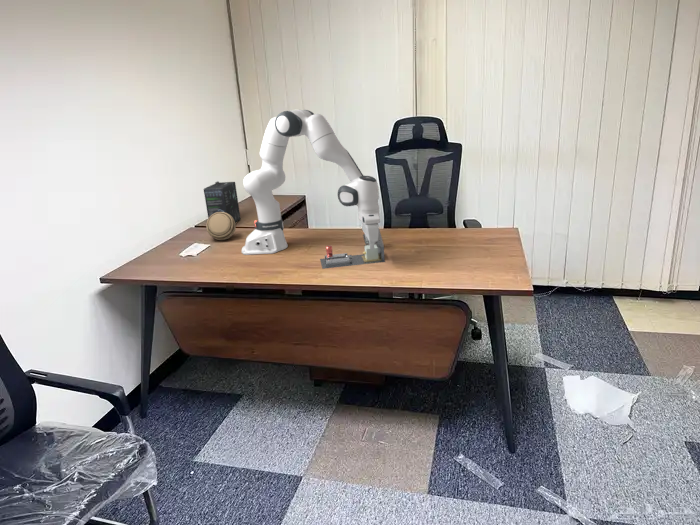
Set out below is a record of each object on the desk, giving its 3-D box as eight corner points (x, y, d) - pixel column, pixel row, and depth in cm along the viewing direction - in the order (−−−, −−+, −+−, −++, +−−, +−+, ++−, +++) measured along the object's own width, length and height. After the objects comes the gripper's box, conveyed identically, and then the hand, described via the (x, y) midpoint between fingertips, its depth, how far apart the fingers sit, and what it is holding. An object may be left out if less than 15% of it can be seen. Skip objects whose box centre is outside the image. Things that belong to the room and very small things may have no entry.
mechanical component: (203, 241, 258) (198, 213, 253) (226, 234, 268) (222, 207, 263) (219, 245, 248) (215, 217, 244) (243, 237, 259) (239, 210, 254)
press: (322, 270, 202) (321, 255, 200) (320, 261, 214) (318, 246, 212) (385, 264, 205) (384, 248, 203) (379, 254, 217) (378, 239, 215)
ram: (327, 263, 207) (325, 247, 205) (326, 261, 210) (325, 245, 207) (352, 260, 208) (351, 245, 206) (351, 258, 211) (350, 243, 208)
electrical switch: (372, 252, 221) (370, 232, 219) (363, 251, 225) (361, 232, 222) (384, 246, 228) (382, 227, 226) (375, 246, 231) (373, 227, 229)
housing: (364, 260, 208) (363, 249, 206) (362, 256, 212) (362, 245, 211) (378, 258, 208) (377, 247, 207) (376, 255, 213) (375, 244, 211)
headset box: (222, 220, 300) (216, 178, 292) (241, 219, 299) (235, 177, 290) (209, 230, 279) (201, 185, 271) (229, 229, 278) (222, 184, 269)
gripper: (357, 209, 213) (359, 239, 218) (365, 221, 194) (366, 253, 199) (371, 208, 214) (372, 238, 219) (380, 220, 195) (381, 252, 200)
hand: (370, 245), depth 209 cm, fingers open, 8 cm apart
